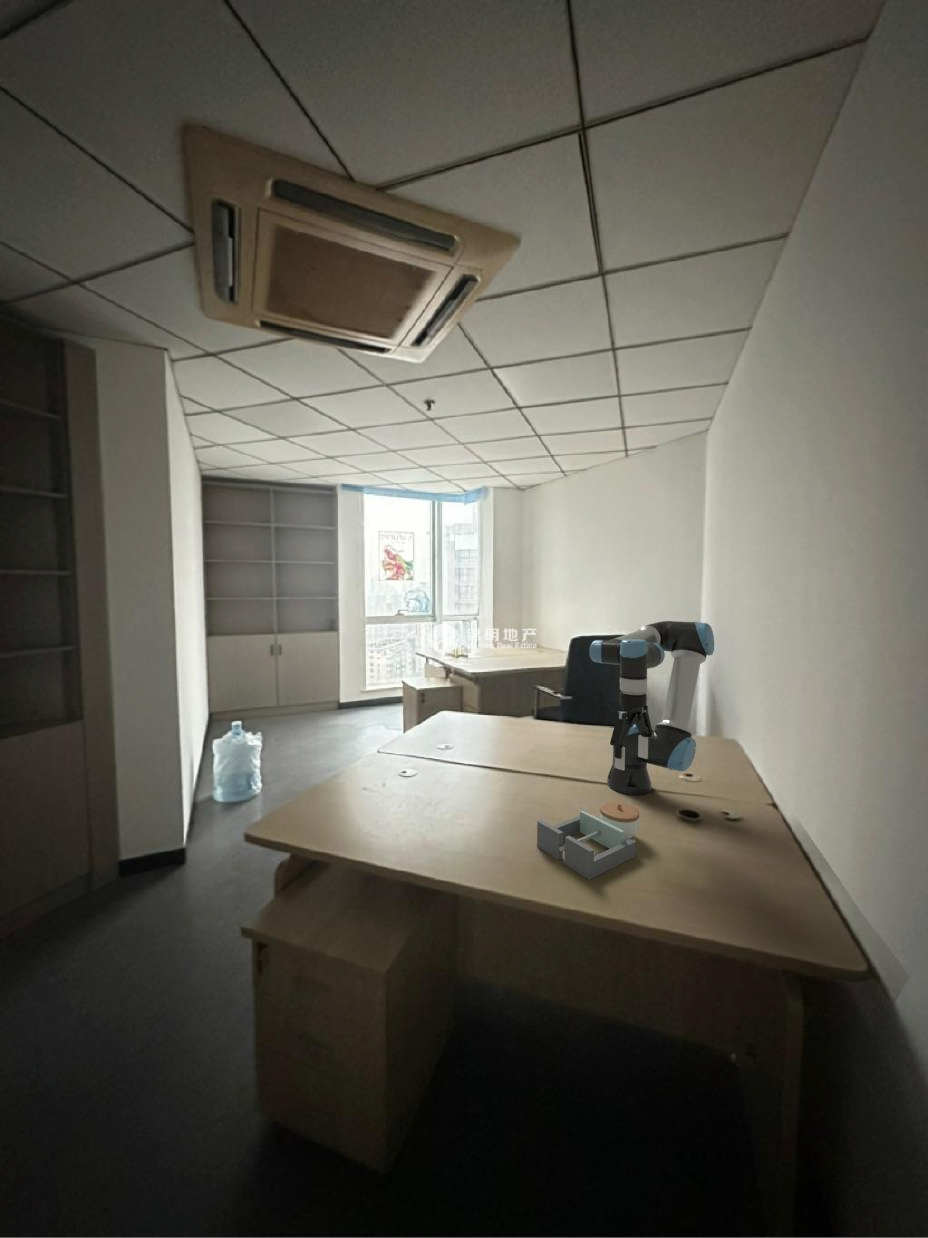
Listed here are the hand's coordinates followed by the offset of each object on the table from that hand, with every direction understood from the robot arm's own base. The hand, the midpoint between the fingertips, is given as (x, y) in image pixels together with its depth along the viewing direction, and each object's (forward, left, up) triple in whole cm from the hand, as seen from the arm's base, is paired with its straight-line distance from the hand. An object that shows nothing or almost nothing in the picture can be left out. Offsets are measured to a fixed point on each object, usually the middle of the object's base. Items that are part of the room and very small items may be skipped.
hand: (631, 763), depth 135 cm
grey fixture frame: (+20, +1, -20) cm, 28 cm away
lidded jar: (+7, +1, -20) cm, 21 cm away
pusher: (+23, +1, -19) cm, 29 cm away
